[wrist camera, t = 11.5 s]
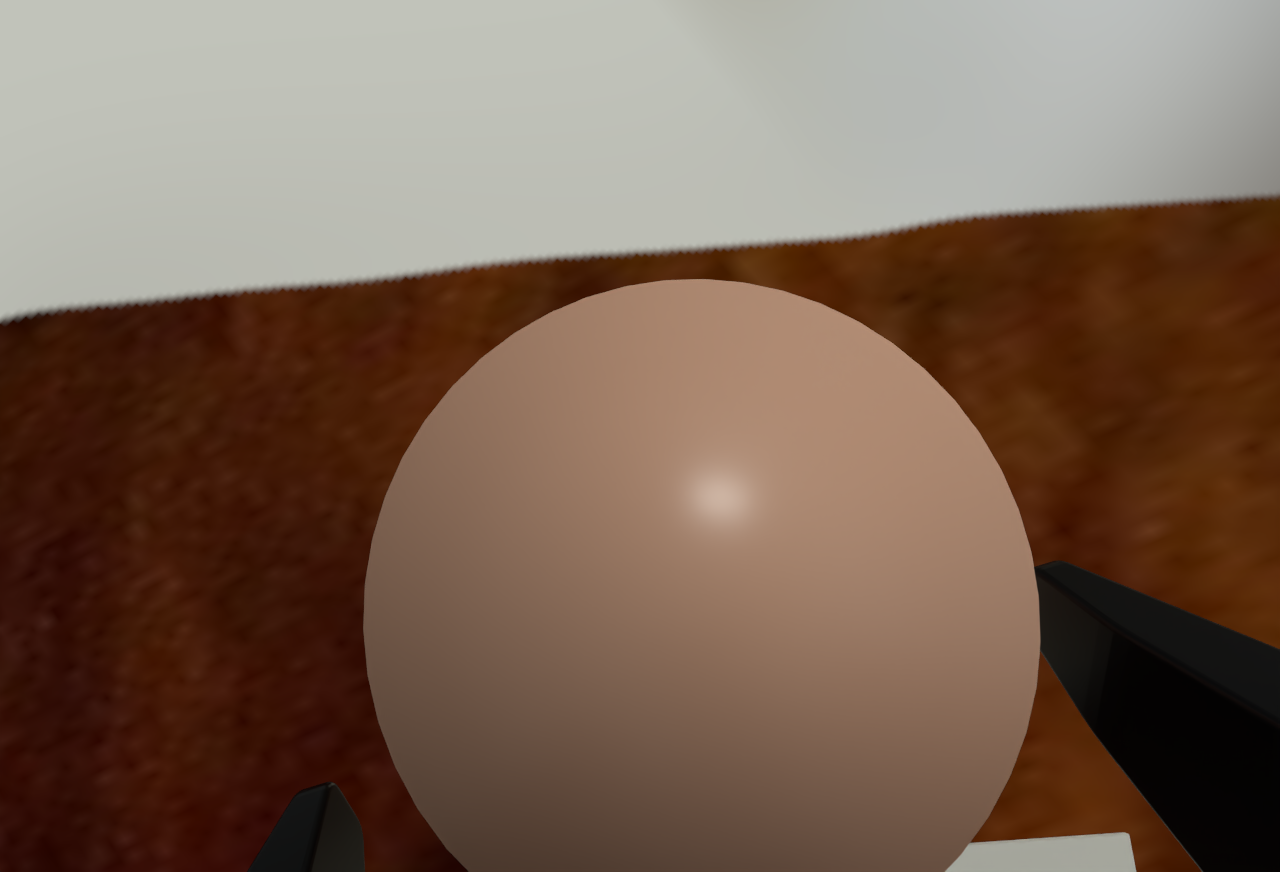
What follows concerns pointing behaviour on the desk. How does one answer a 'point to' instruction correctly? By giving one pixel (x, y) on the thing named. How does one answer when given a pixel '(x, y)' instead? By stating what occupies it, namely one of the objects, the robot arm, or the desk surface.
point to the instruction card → (1049, 855)
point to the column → (701, 597)
